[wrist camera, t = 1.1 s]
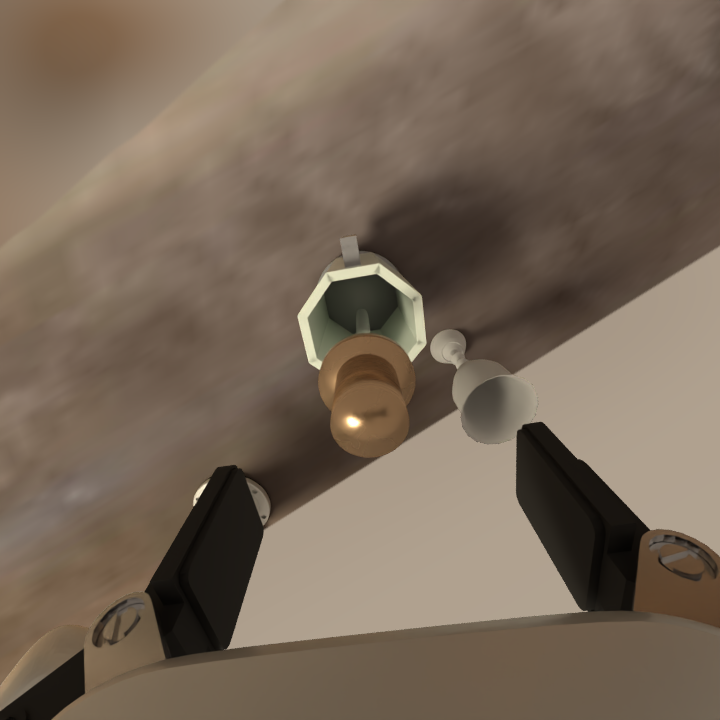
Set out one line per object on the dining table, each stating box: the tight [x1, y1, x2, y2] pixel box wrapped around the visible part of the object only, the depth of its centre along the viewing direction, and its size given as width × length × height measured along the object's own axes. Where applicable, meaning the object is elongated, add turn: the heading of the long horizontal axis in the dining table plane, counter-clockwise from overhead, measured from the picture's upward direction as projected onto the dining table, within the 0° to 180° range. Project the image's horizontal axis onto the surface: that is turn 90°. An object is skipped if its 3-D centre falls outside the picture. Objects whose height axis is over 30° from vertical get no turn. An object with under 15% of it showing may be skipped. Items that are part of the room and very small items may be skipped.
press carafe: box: [298, 234, 426, 370], centre depth 37 cm, size 14×12×16 cm
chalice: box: [430, 329, 538, 444], centre depth 39 cm, size 7×7×18 cm
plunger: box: [318, 309, 416, 458], centre depth 25 cm, size 6×6×21 cm
